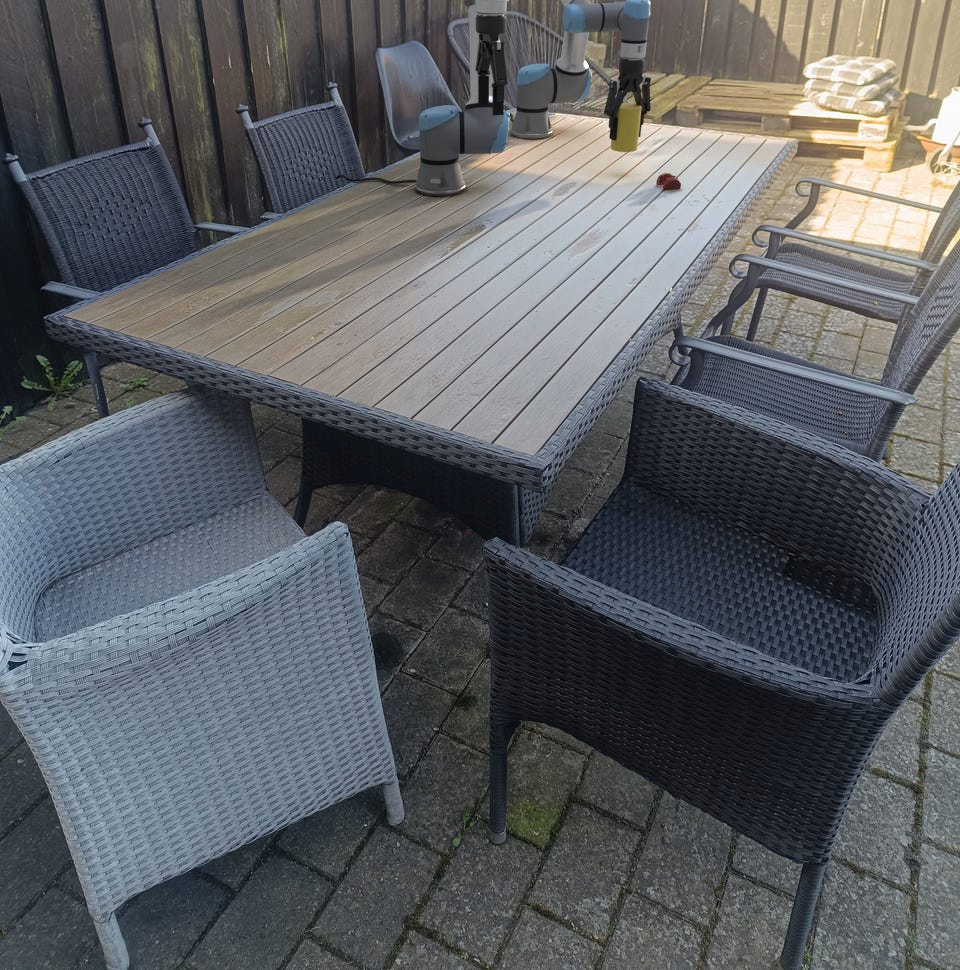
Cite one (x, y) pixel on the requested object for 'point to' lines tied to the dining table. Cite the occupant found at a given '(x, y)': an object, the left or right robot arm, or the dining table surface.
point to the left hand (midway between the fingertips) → (490, 109)
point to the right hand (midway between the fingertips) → (624, 137)
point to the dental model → (668, 182)
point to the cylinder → (627, 128)
